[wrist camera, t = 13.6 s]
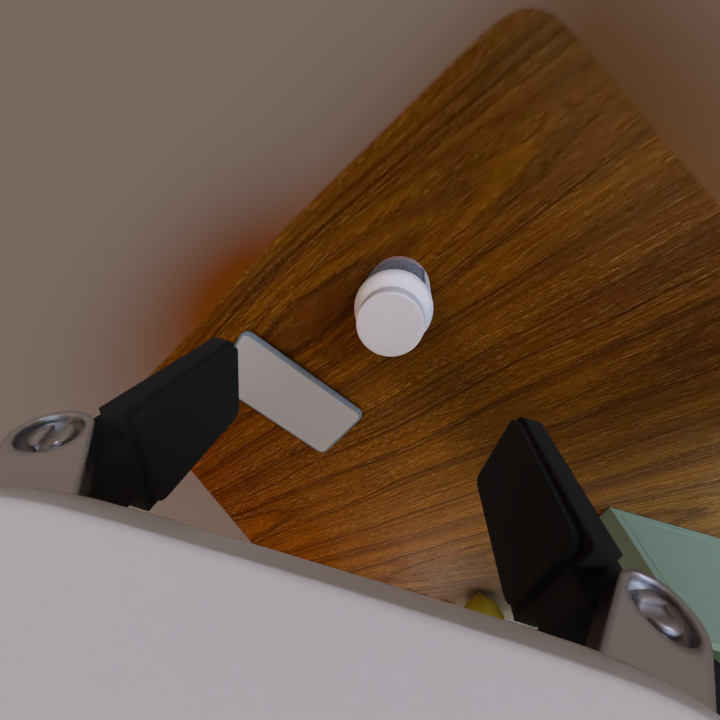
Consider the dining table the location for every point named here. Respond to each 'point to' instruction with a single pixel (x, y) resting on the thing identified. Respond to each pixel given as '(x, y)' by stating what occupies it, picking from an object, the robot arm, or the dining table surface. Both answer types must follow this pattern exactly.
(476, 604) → the lemon
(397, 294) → the pill bottle
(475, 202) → the dining table surface
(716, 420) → the dining table surface
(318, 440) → the smartphone
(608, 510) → the green box
